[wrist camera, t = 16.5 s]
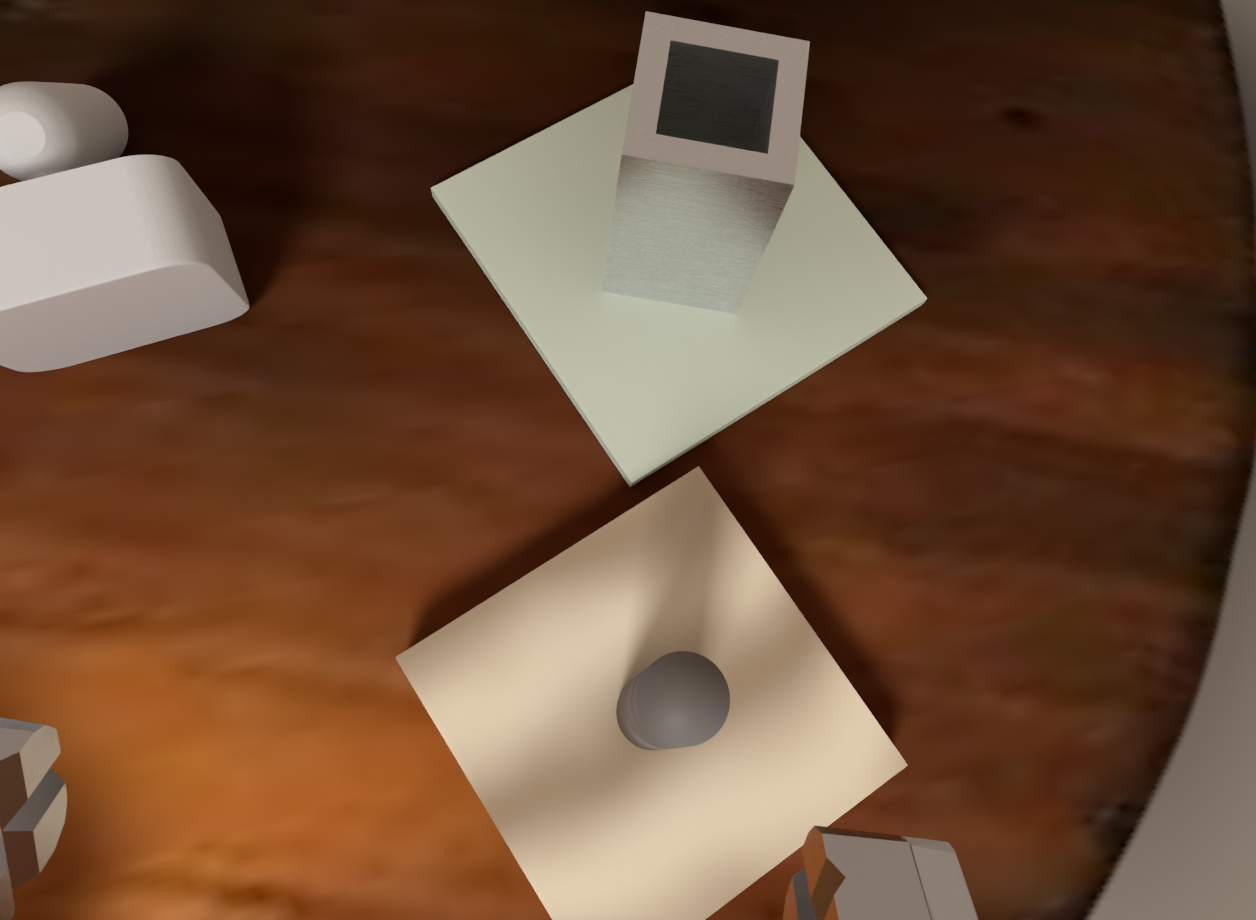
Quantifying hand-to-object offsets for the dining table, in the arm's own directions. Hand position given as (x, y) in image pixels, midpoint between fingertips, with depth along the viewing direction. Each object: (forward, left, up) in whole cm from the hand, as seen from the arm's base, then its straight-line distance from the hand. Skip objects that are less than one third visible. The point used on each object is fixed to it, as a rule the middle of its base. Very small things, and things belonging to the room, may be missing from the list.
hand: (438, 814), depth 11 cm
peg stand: (+1, +5, -23) cm, 24 cm away
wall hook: (-24, -2, -24) cm, 34 cm away
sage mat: (-13, +16, -23) cm, 31 cm away
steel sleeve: (-13, +16, -23) cm, 31 cm away
